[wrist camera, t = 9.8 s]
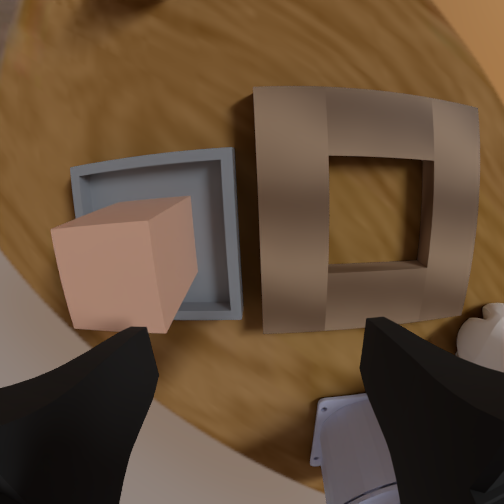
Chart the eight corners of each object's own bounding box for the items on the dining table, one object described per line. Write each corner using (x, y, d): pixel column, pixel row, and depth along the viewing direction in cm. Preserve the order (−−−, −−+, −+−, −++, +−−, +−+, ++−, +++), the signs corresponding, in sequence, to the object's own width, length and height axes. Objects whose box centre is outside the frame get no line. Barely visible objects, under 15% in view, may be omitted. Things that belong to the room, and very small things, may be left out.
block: (198, 271, 19) (166, 333, 12) (129, 273, 19) (74, 328, 12) (190, 195, 17) (148, 220, 11) (118, 202, 17) (50, 229, 11)
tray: (243, 305, 20) (241, 319, 18) (106, 305, 20) (95, 317, 18) (234, 148, 17) (231, 147, 15) (85, 165, 17) (70, 167, 16)
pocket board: (451, 306, 20) (461, 315, 18) (263, 321, 20) (263, 333, 19) (465, 109, 15) (477, 107, 14) (253, 92, 16) (252, 86, 15)
